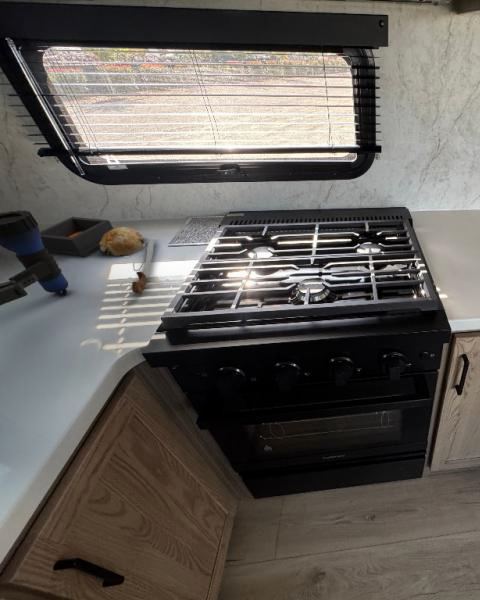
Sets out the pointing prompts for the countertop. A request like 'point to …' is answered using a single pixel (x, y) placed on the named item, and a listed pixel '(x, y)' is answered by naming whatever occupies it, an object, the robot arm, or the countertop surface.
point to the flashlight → (30, 248)
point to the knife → (143, 271)
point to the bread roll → (121, 241)
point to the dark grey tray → (75, 236)
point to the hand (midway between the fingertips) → (18, 263)
